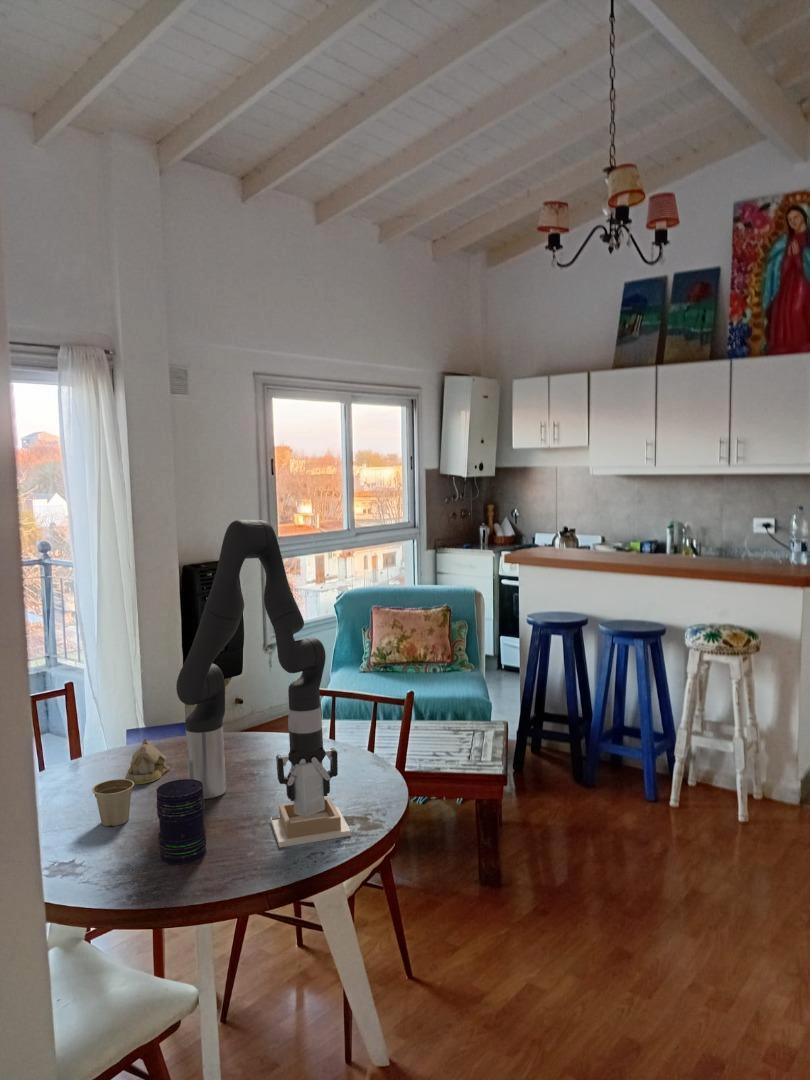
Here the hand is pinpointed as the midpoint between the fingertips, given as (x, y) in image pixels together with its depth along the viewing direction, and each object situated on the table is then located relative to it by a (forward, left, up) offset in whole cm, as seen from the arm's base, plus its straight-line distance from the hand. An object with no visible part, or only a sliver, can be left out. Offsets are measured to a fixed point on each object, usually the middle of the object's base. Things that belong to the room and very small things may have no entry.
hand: (308, 797), depth 183 cm
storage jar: (-28, -3, -8) cm, 29 cm away
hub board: (0, 0, -7) cm, 7 cm away
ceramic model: (-36, +50, -8) cm, 63 cm away
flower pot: (-43, +21, -8) cm, 48 cm away
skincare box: (0, 0, -4) cm, 4 cm away
